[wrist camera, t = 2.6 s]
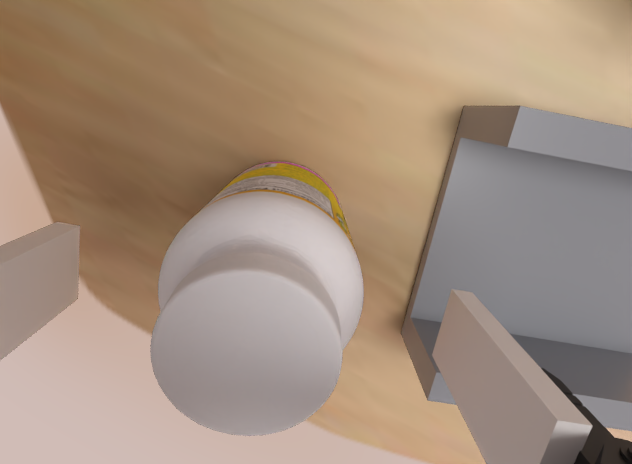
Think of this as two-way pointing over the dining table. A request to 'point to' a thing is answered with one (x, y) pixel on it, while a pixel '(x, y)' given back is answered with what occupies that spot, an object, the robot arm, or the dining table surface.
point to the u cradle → (536, 250)
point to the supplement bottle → (258, 303)
